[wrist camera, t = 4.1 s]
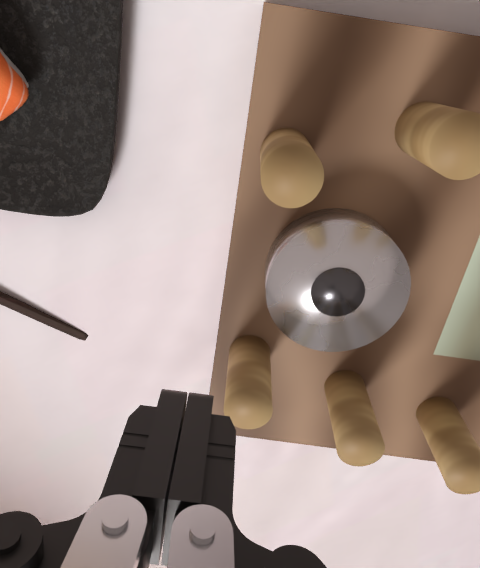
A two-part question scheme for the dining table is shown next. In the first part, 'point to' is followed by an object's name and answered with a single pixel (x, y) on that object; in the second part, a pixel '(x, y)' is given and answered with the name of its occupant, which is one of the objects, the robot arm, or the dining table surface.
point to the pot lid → (335, 280)
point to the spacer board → (383, 209)
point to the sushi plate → (57, 111)
